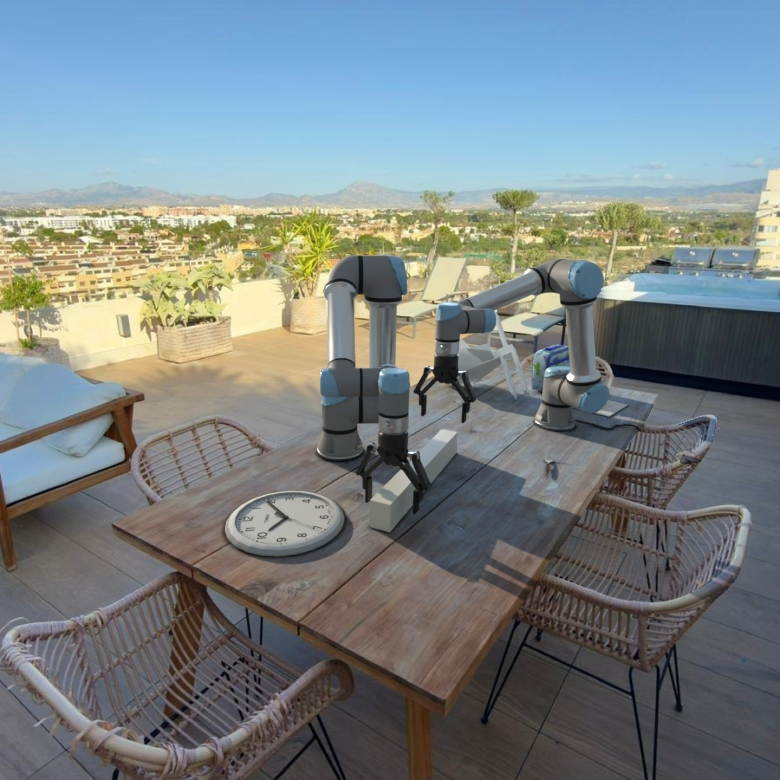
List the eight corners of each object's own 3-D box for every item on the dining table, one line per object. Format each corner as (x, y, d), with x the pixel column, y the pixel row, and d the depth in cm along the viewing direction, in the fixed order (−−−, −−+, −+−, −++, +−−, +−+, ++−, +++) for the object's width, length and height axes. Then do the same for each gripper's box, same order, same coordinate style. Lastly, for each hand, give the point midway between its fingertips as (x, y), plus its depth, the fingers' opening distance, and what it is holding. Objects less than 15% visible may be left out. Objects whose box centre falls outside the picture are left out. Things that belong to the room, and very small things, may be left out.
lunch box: (547, 397, 237) (552, 352, 231) (526, 391, 245) (531, 348, 238) (574, 386, 255) (580, 344, 249) (554, 381, 262) (559, 340, 256)
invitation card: (608, 416, 214) (573, 407, 224) (608, 416, 214) (573, 408, 224) (628, 404, 229) (594, 396, 238) (628, 405, 229) (594, 397, 238)
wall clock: (344, 547, 121) (211, 552, 118) (344, 554, 121) (212, 558, 119) (344, 486, 149) (237, 489, 147) (344, 491, 150) (237, 494, 147)
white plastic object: (461, 429, 252) (437, 405, 227) (444, 352, 274) (420, 323, 250) (535, 404, 240) (518, 377, 215) (510, 326, 262) (492, 293, 237)
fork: (541, 476, 161) (542, 470, 161) (545, 456, 176) (546, 450, 175) (550, 477, 161) (551, 471, 160) (553, 457, 175) (554, 451, 174)
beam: (440, 450, 180) (441, 429, 177) (456, 453, 177) (457, 431, 175) (369, 527, 133) (369, 499, 131) (389, 532, 131) (390, 505, 128)
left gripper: (342, 426, 132) (343, 501, 139) (435, 444, 122) (431, 524, 129) (356, 417, 139) (356, 489, 145) (445, 433, 129) (441, 510, 135)
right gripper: (404, 351, 163) (403, 415, 169) (482, 361, 153) (477, 428, 159) (413, 347, 170) (411, 408, 176) (489, 356, 160) (484, 421, 166)
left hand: (391, 506), depth 137 cm, fingers open, 13 cm apart
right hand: (443, 418), depth 168 cm, fingers open, 13 cm apart
